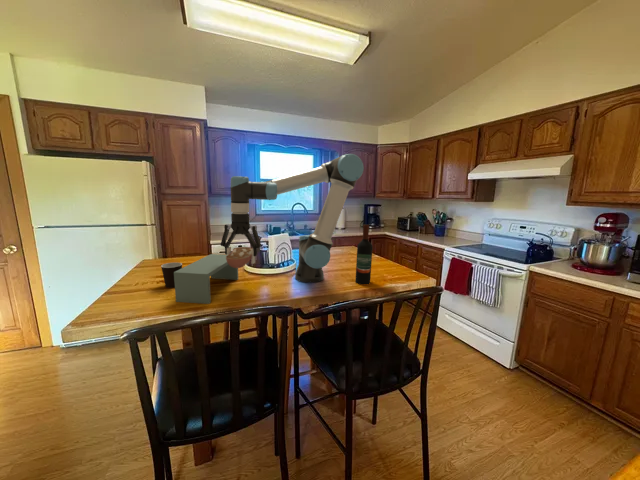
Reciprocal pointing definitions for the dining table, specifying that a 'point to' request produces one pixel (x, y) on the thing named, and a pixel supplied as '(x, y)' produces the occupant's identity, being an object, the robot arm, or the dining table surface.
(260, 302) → the dining table surface
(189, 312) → the dining table surface
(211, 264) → the stand
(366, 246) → the wine bottle
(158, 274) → the dining table surface
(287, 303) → the dining table surface
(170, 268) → the coffee mug
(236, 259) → the brown bread loaf
